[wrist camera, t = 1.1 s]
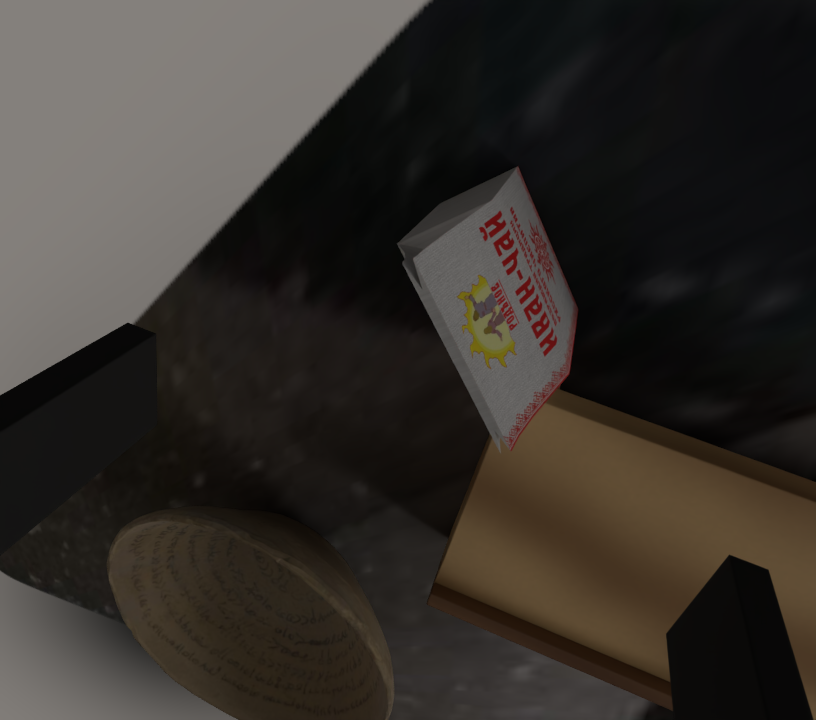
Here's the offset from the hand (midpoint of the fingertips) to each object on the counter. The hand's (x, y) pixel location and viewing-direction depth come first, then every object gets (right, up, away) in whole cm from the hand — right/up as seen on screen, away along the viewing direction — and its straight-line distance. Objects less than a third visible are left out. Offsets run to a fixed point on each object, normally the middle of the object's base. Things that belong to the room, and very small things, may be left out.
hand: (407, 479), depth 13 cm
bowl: (-7, -10, +26) cm, 29 cm away
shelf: (+13, -6, +17) cm, 22 cm away
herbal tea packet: (+5, +7, +13) cm, 15 cm away
